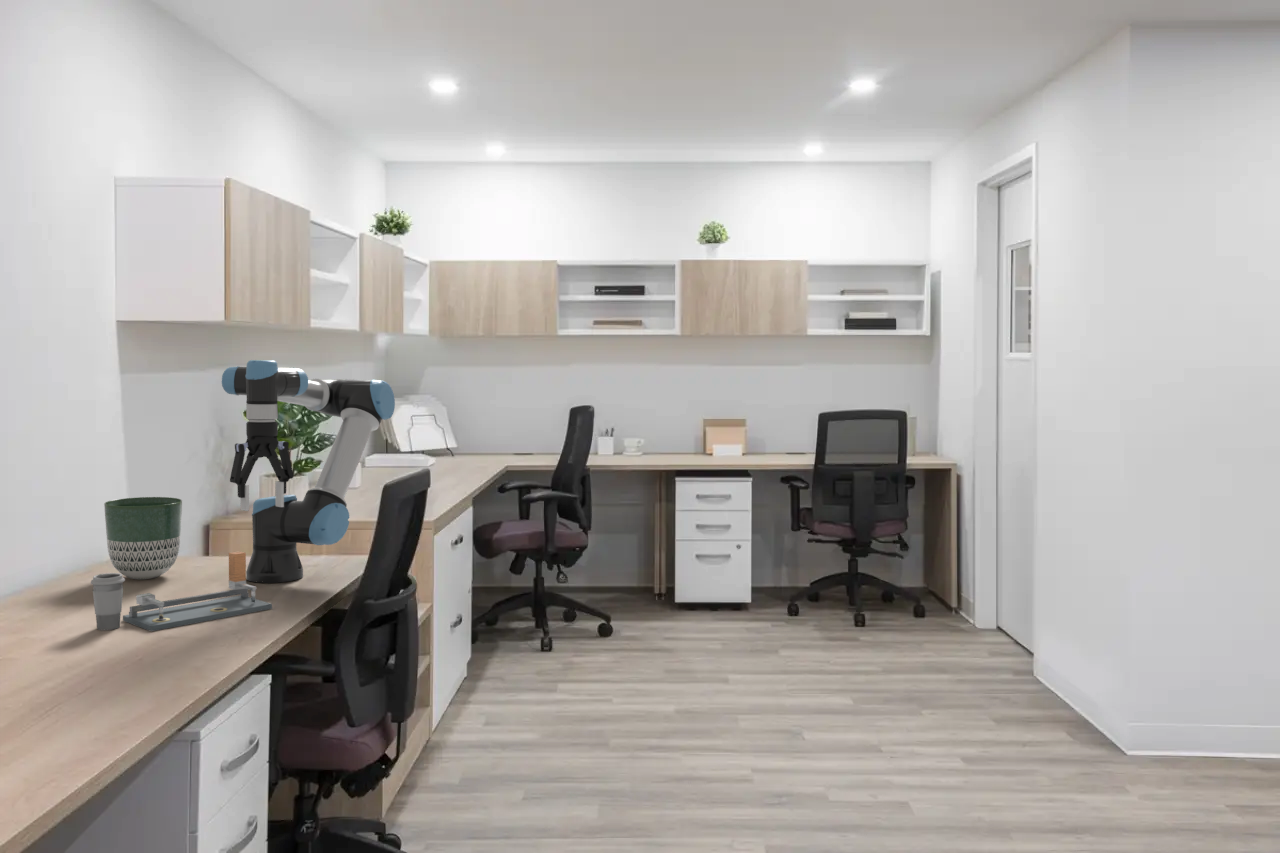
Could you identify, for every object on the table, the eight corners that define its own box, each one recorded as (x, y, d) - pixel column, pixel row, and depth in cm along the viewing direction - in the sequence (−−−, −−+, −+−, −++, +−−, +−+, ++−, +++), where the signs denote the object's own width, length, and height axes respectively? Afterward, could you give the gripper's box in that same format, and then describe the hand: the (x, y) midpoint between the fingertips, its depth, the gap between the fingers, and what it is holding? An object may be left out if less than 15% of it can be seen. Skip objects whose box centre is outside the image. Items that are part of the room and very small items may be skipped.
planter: (175, 584, 283) (174, 505, 282) (97, 586, 279) (96, 507, 277) (188, 569, 302) (187, 496, 301) (115, 571, 297) (114, 497, 296)
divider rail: (243, 596, 266) (243, 577, 265) (264, 602, 260) (263, 583, 259) (127, 616, 243) (127, 596, 243) (146, 623, 237) (146, 603, 237)
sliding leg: (239, 595, 265) (239, 551, 264) (259, 601, 259) (259, 556, 258) (228, 597, 262) (228, 552, 262) (248, 603, 256) (248, 557, 256)
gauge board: (242, 599, 267) (242, 594, 267) (272, 608, 258) (272, 603, 258) (122, 620, 244) (122, 615, 244) (151, 631, 235) (150, 625, 235)
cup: (113, 622, 242) (112, 571, 241) (132, 626, 239) (131, 574, 238) (84, 629, 236) (83, 576, 235) (103, 633, 233) (102, 580, 232)
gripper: (292, 418, 276) (292, 503, 277) (213, 421, 259) (214, 511, 261) (308, 420, 271) (308, 505, 273) (229, 422, 254) (230, 514, 256)
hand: (262, 508), depth 267 cm, fingers open, 9 cm apart
